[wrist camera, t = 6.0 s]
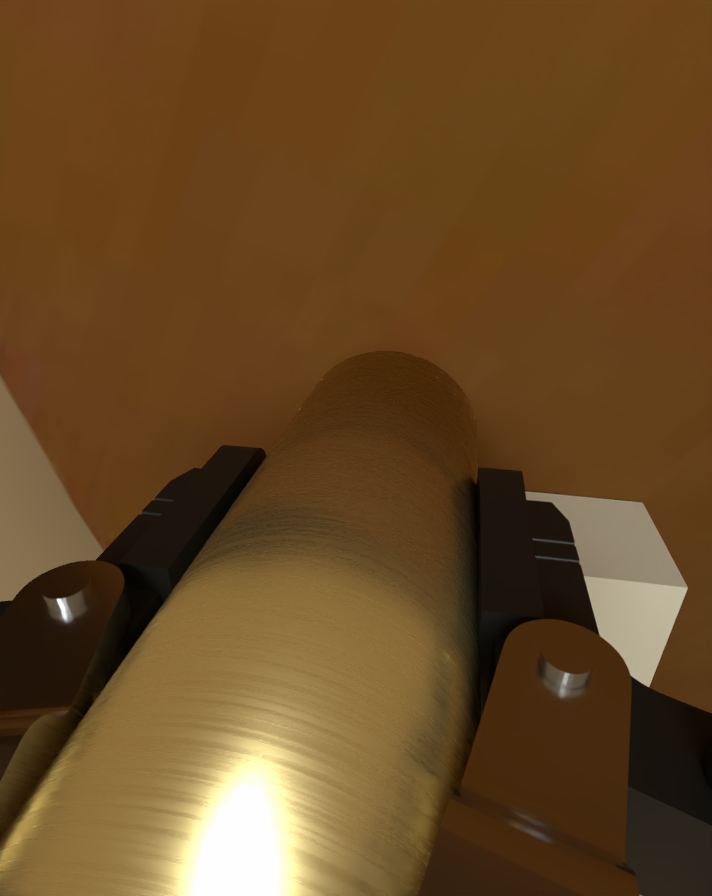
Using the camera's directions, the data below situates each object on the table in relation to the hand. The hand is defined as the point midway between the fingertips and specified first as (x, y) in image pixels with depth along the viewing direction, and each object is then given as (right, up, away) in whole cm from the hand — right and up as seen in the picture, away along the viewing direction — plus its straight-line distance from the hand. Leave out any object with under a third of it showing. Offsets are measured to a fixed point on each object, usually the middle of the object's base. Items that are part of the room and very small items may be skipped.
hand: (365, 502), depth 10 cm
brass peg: (+1, +1, +2) cm, 3 cm away
